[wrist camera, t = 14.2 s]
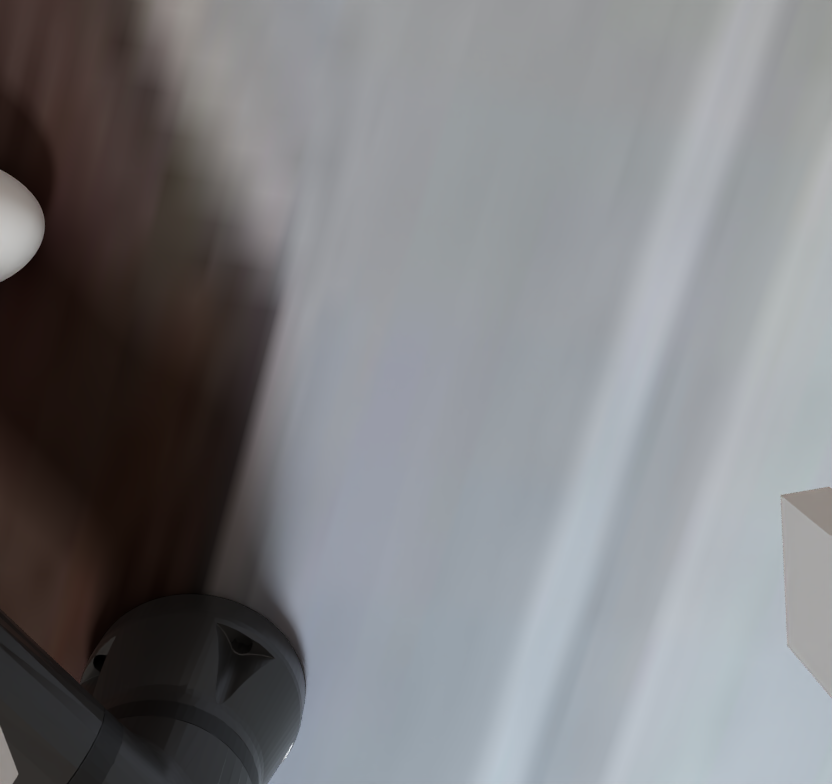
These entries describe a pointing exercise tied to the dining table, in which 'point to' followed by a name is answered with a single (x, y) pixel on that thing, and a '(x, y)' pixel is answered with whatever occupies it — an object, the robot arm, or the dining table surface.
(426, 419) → the dining table surface
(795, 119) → the dining table surface
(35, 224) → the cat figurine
